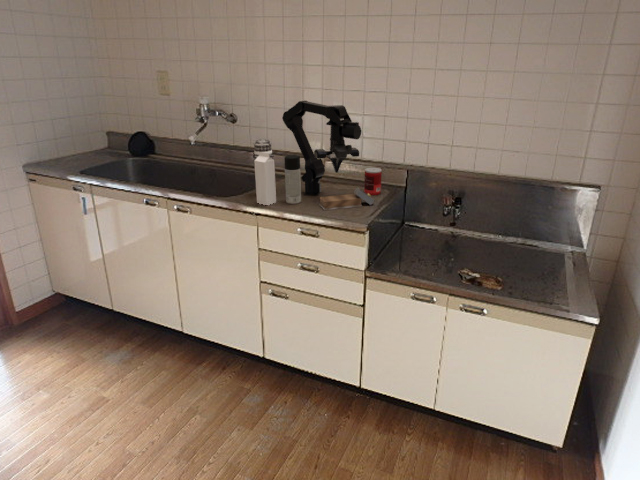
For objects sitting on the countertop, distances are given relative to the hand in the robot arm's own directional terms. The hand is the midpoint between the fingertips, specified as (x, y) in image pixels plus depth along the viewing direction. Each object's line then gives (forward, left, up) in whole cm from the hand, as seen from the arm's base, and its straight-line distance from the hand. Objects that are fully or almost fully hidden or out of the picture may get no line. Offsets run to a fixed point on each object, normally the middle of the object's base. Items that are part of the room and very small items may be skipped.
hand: (336, 172), depth 202 cm
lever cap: (+12, -6, -9) cm, 17 cm away
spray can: (-17, -9, -12) cm, 23 cm away
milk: (-28, -13, -12) cm, 33 cm away
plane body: (+4, -10, -12) cm, 16 cm away
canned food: (+15, +11, -12) cm, 22 cm away
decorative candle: (-33, -1, -12) cm, 35 cm away
